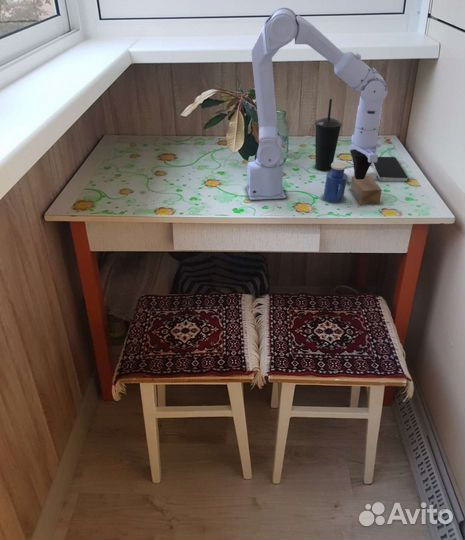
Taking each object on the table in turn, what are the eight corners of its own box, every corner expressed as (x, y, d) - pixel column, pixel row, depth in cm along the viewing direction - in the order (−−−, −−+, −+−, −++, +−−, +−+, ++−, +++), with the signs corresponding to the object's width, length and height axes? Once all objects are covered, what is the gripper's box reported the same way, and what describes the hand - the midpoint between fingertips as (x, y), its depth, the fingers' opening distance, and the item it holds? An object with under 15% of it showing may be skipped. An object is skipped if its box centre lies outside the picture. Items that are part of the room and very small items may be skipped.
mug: (334, 214, 131) (313, 188, 125) (327, 201, 136) (307, 176, 131) (365, 193, 128) (346, 165, 122) (357, 180, 133) (338, 153, 128)
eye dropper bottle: (369, 159, 142) (332, 165, 138) (378, 174, 139) (340, 181, 136) (363, 169, 146) (327, 175, 142) (372, 184, 143) (335, 191, 140)
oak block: (360, 205, 130) (362, 190, 127) (350, 189, 137) (352, 176, 135) (379, 204, 130) (381, 189, 128) (368, 189, 137) (370, 175, 135)
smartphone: (379, 177, 141) (369, 156, 153) (379, 181, 142) (368, 160, 154) (408, 177, 141) (395, 156, 153) (408, 181, 141) (394, 160, 154)
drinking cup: (329, 175, 145) (336, 105, 134) (305, 168, 149) (311, 100, 137) (341, 166, 150) (349, 98, 139) (318, 160, 154) (325, 93, 142)
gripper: (394, 136, 117) (384, 189, 125) (373, 116, 129) (365, 166, 136) (364, 137, 116) (356, 191, 124) (346, 117, 128) (340, 167, 136)
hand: (359, 178), depth 130 cm, fingers closed
